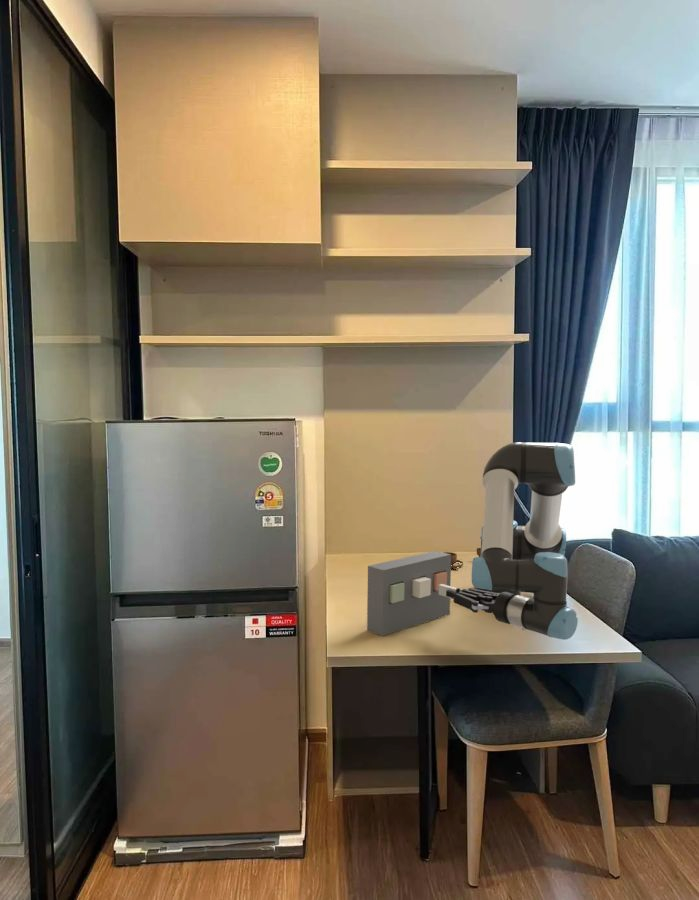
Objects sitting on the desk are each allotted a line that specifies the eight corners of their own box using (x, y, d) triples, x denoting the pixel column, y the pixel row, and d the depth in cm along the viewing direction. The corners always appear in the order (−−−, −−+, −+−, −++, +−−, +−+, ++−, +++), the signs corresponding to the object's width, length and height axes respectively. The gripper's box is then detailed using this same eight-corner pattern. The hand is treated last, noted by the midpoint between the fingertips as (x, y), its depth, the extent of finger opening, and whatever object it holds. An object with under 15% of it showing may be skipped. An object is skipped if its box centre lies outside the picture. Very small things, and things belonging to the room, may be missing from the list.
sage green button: (389, 595, 185) (390, 579, 185) (404, 599, 181) (404, 583, 181) (378, 598, 182) (378, 582, 182) (392, 603, 178) (392, 586, 178)
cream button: (415, 590, 190) (416, 574, 190) (430, 595, 186) (430, 578, 186) (404, 593, 187) (405, 577, 187) (419, 598, 183) (419, 581, 183)
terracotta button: (432, 583, 197) (432, 568, 197) (446, 587, 193) (447, 572, 193) (422, 586, 194) (422, 571, 194) (436, 590, 190) (436, 575, 190)
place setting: (431, 560, 265) (432, 545, 264) (482, 562, 262) (483, 547, 262) (431, 571, 247) (432, 555, 247) (486, 573, 245) (486, 558, 244)
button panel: (434, 609, 201) (435, 550, 199) (449, 614, 196) (451, 554, 195) (367, 630, 182) (367, 565, 181) (382, 636, 178) (383, 570, 176)
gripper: (498, 630, 160) (424, 607, 178) (528, 618, 169) (454, 598, 187) (499, 600, 160) (424, 579, 177) (529, 590, 169) (455, 571, 186)
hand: (440, 589), depth 182 cm, fingers closed
